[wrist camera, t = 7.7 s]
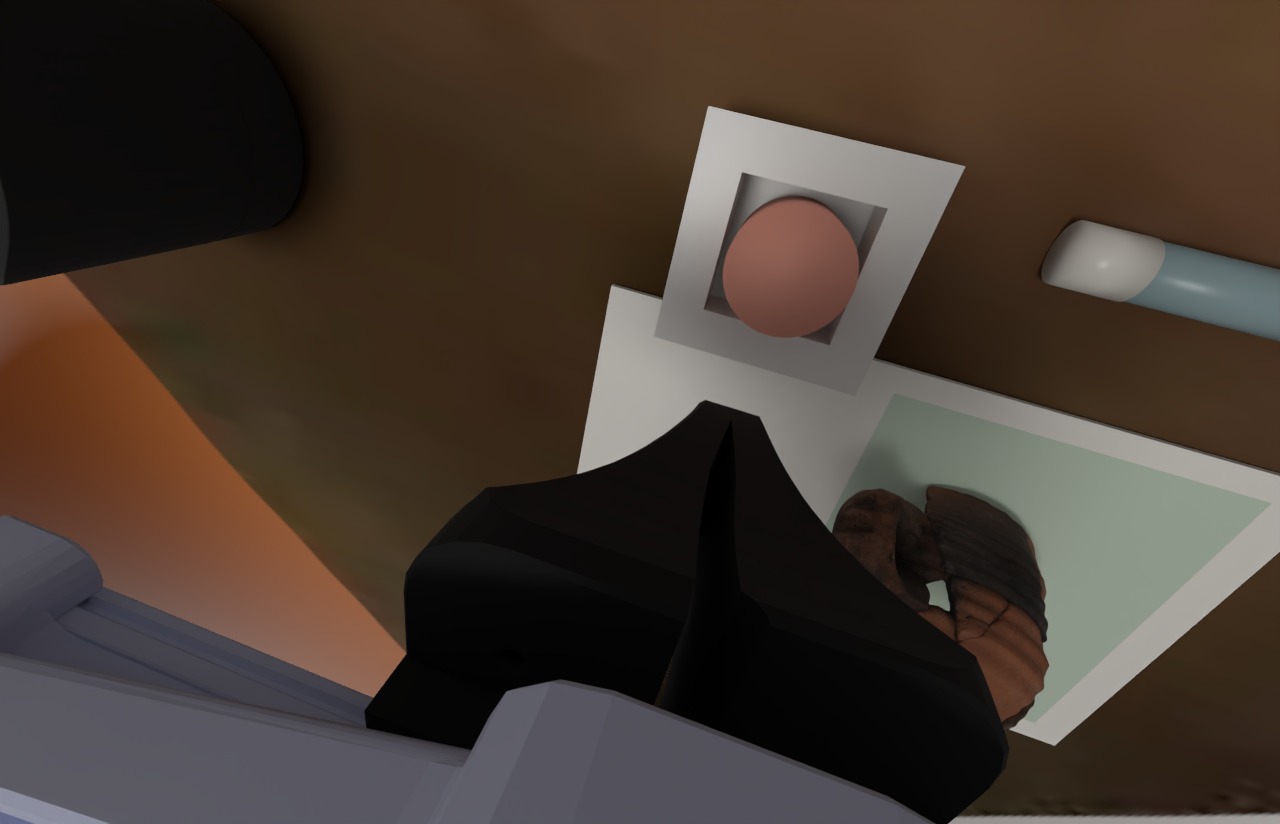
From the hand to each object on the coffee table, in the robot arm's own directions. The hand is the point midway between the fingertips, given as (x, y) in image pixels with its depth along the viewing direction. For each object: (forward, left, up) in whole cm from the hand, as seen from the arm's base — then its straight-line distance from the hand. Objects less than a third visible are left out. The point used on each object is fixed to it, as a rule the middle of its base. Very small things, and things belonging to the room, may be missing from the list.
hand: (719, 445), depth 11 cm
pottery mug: (-8, -9, -10) cm, 16 cm away
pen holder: (+2, +24, -10) cm, 26 cm away
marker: (+5, -14, -10) cm, 17 cm away
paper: (-8, -7, -10) cm, 15 cm away
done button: (+3, -1, -8) cm, 9 cm away
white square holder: (+3, -1, -10) cm, 10 cm away
